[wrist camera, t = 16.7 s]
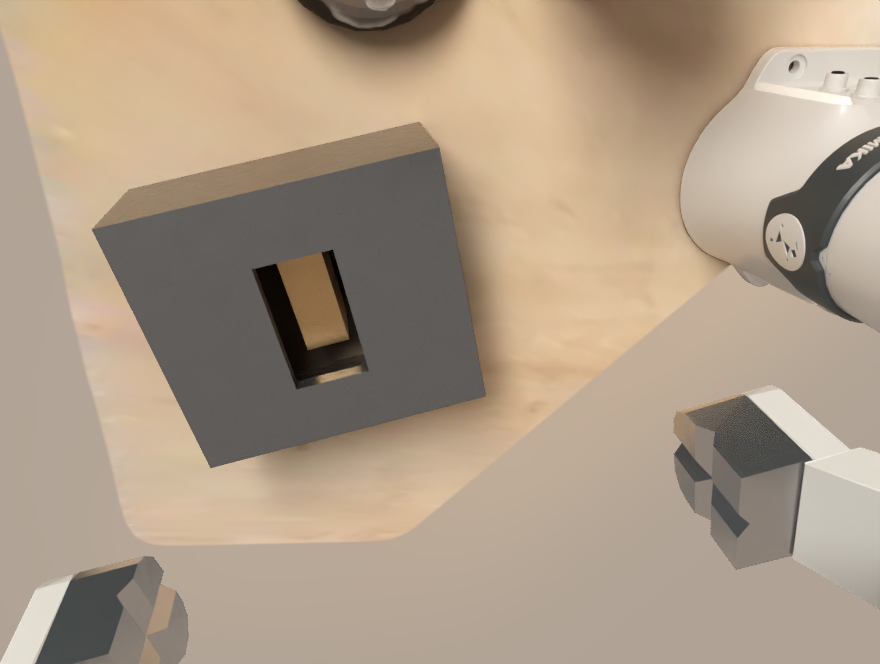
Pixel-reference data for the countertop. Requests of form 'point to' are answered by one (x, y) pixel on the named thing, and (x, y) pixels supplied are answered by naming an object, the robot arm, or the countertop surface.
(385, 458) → the countertop surface
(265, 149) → the countertop surface
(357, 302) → the post box
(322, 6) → the donut
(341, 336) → the brown wooden block
